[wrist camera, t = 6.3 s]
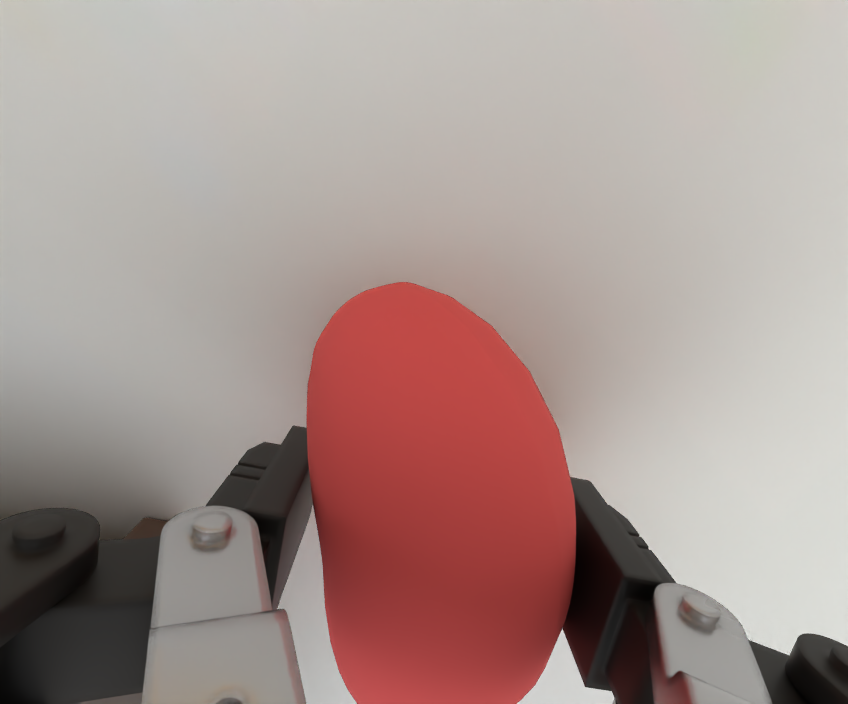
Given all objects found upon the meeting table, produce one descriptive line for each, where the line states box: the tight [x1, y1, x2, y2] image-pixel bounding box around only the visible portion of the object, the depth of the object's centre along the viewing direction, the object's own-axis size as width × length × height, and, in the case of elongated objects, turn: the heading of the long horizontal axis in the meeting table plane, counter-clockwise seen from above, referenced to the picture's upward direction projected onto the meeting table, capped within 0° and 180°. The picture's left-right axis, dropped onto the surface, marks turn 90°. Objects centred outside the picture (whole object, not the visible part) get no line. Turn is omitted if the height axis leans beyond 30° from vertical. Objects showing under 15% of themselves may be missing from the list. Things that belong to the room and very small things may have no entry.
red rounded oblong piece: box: [307, 282, 576, 704], centre depth 10 cm, size 5×9×6 cm, turn 172°
